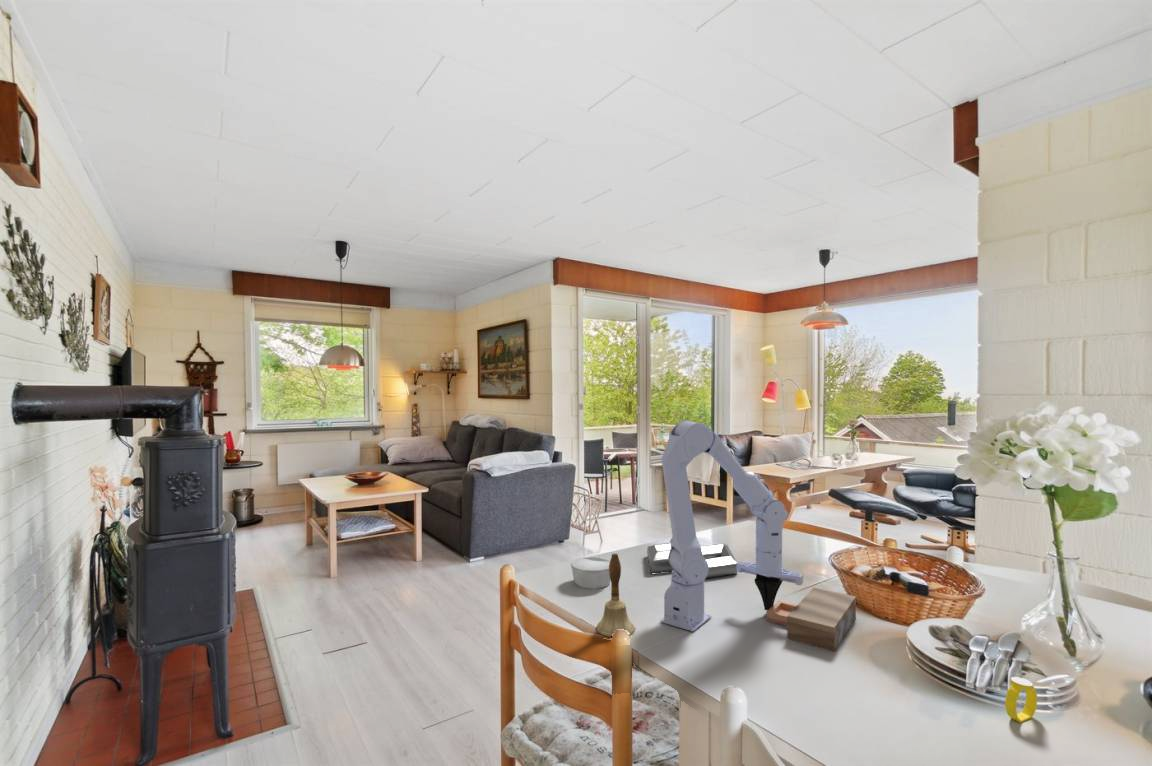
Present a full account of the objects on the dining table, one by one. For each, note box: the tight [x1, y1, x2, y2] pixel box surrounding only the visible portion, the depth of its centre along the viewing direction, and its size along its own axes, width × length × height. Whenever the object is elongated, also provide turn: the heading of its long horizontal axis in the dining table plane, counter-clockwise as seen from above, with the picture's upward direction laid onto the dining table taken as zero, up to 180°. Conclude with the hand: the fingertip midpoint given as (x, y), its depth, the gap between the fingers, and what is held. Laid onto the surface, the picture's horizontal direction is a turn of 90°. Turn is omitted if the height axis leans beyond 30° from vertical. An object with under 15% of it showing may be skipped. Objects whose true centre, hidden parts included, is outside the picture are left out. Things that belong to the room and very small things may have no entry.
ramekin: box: [570, 556, 611, 590], centre depth 146 cm, size 11×11×5 cm
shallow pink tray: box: [766, 599, 798, 627], centre depth 122 cm, size 8×12×2 cm, turn 52°
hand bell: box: [595, 553, 636, 638], centre depth 118 cm, size 8×8×16 cm
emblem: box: [646, 542, 738, 579], centre depth 160 cm, size 28×5×28 cm
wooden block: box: [786, 587, 857, 652], centre depth 119 cm, size 20×9×5 cm, turn 142°
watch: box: [1004, 676, 1038, 723], centre depth 87 cm, size 6×3×6 cm, turn 114°
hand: (768, 609), depth 126 cm, fingers closed
